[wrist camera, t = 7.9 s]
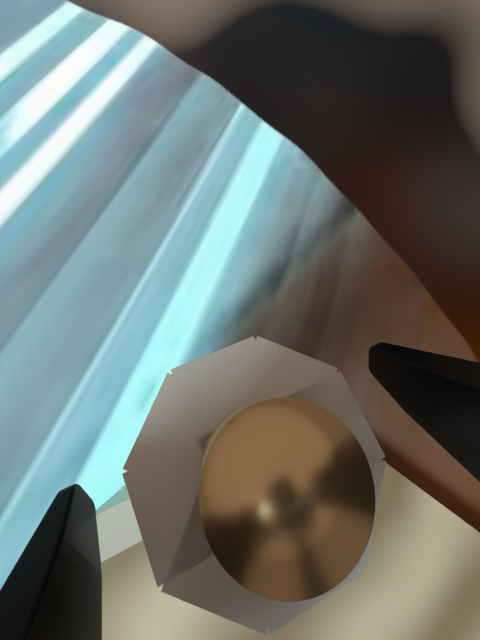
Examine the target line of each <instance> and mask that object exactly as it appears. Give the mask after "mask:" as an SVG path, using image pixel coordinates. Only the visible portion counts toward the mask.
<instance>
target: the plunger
mask: <svg viewBox="0 0 480 640" xmlns="http://www.w3.org/2000/svg"><path fill="white" fill-rule="evenodd" d="M199 506H200V515H201V521H202V525H203V529H204V532H205V536H206V538H207V541H208V543H209V545H210V548H211V550H212V552H213V553H214V555H215V557H216V558H217V560H218V562H219V563H220V564H221V566H222V567H223V568H224V569H225V571H226V572H227V573H228V574H229V575H230V576H231V577H232V578H233V579H234V580H235V581H236V582H237V583H239V584H240V585H241V586H243V587H244V588H246V589H247V590H249V591H251V592H253V593H255V594H257V595H259V596H261V597H264V598H267V599H270V600H275V601H282V602H298V601H304V600H309V599H312V598H315V597H318V596H320V595H323V594H324V593H326V592H328V591H330V590H332V589H333V588H334V587H336V586H337V585H338V584H340V583H341V582H342V581H343V580H344V579H345V578H346V577H347V576H348V575H349V574H350V573H351V572H352V571H353V569H354V568H355V566H356V565H357V564H358V562H359V561H360V559H361V557H362V555H363V553H364V551H365V550H366V547H367V544H368V542H369V539H370V536H371V532H372V528H373V524H374V517H375V488H374V481H373V477H372V472H371V469H370V466H369V463H368V460H367V458H366V455H365V453H364V451H363V449H362V447H361V445H360V444H359V442H358V440H357V439H356V437H355V436H354V435H353V433H352V432H351V431H350V429H349V428H348V427H347V426H346V425H345V424H344V423H343V422H342V421H341V420H340V419H339V418H337V417H336V416H335V415H334V414H333V413H331V412H329V411H328V410H326V409H325V408H323V407H321V406H319V405H317V404H315V403H312V402H309V401H306V400H302V399H296V398H273V399H269V400H264V401H260V402H256V403H253V404H249V405H245V406H243V407H240V408H238V409H236V410H234V411H232V412H231V413H229V414H228V415H227V416H225V417H224V418H223V419H222V420H221V421H220V422H219V423H218V425H217V426H216V427H215V428H214V430H213V432H212V433H211V435H210V437H209V439H208V441H207V443H206V446H205V449H204V452H203V457H202V463H201V476H200V489H199Z"/></svg>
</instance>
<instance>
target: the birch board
mask: <svg viewBox="0 0 480 640" xmlns="http://www.w3.org/2000/svg"><path fill="white" fill-rule="evenodd" d="M360 567H361V566H360ZM361 569H362V571H363V573H362V574H361V575H359V576H358V577H356V578H355V579H353V580H352V581H350V582H349V583H347V584H346V585H344V586H343V587H341V588H340V589H338V590H337V591H335V592H334V593H332V594H331V595H329V596H328V597H326V598H325V599H323V600H322V601H320V602H319V603H317V604H316V605H314V606H313V607H311V608H310V609H308V610H307V611H305V612H304V613H302V614H301V615H299V616H298V617H296V618H295V619H293V620H292V621H290V622H289V623H287V624H286V625H284V626H283V627H281V628H280V629H278V630H277V631H275V632H274V633H272V634H271V633H270V631H269V628H268V629H267V632H266V635H264V634H262V633H260V632H257V631H255V630H252V629H250V628H248V627H245V626H243V625H240V624H238V623H235V622H233V621H231V620H228V619H226V618H223V617H221V616H219V615H216V614H214V613H211V612H209V611H207V610H204V609H202V608H199V607H197V606H194V605H192V604H190V603H187V602H185V601H182V600H180V599H178V598H175V597H173V596H170V595H168V594H166V593H163V592H161V590H162V586H163V584H162V585H161V586H159V587H157V585H156V581H155V578H154V575H153V572H152V568H151V565H150V562H149V559H148V555H147V552H146V549H145V546H144V542H143V540H142V541H140V542H139V543H137V544H135V545H133V546H131V547H129V548H127V549H125V550H124V551H122V552H120V553H118V554H116V555H114V556H112V557H110V558H108V559H107V560H105V561H103V562H101V570H102V640H480V533H479V532H478V531H477V530H475V529H474V528H473V527H471V526H470V525H469V524H467V523H466V522H465V521H463V520H462V519H461V518H459V517H458V516H457V515H455V514H454V513H453V512H451V511H450V510H449V509H447V508H446V507H445V506H443V505H442V504H440V503H439V502H438V501H436V500H435V499H434V498H432V497H431V496H430V495H428V494H427V493H426V492H424V491H423V490H422V489H420V488H419V487H418V486H416V485H415V484H414V483H412V482H411V481H410V480H408V479H407V478H406V477H404V476H403V475H401V474H400V473H399V472H397V471H396V470H395V469H393V468H392V467H391V466H389V465H388V464H387V463H386V466H385V471H384V477H383V482H382V487H381V492H380V498H379V503H378V508H377V513H376V519H375V524H374V529H373V534H372V540H371V545H370V550H369V555H368V561H367V566H366V568H364V567H361Z"/></svg>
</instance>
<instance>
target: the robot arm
mask: <svg viewBox="0 0 480 640" xmlns="http://www.w3.org/2000/svg"><path fill="white" fill-rule="evenodd" d="M369 370H370V372H371V373H372V375H373V376H374V377H375V378H376V379H377V380H378V382H379V383H380V384H381V385H382V386H383V387H384V388H385V390H386V391H387V392H388V393H389V394H390V395H391V396H392V398H393V399H394V400H395V401H396V402H397V403H398V404H399V406H400V407H401V408H402V409H403V410H404V411H405V412H406V413H407V414H408V415H409V416H410V417H411V418H412V419H413V420H414V421H416V422H417V423H418V424H419V425H420V426H421V427H422V428H423V429H424V430H425V431H426V432H427V433H428V434H429V435H430V436H431V437H432V438H434V439H435V440H436V441H437V442H438V443H439V444H440V445H441V446H442V447H443V448H444V449H445V450H446V451H447V452H448V453H449V454H451V455H452V456H453V457H454V458H455V459H456V460H457V461H458V462H459V463H460V464H461V465H462V466H463V467H464V468H465V469H466V470H467V471H469V472H470V473H471V474H472V475H473V476H474V477H475V478H476V479H477V480H478V481H479V482H480V363H478V362H473V361H469V360H464V359H459V358H454V357H450V356H445V355H440V354H435V353H431V352H426V351H421V350H416V349H412V348H407V347H402V346H397V345H393V344H388V343H383V342H381V343H378V344H376V345H373V346H371V347H370V348H369ZM0 640H102V570H101V558H100V549H99V539H98V530H97V520H96V511H95V505H94V503H93V501H92V499H91V498H90V497H89V496H88V494H87V493H86V492H85V491H84V490H83V489H82V487H81V486H80V485H78V484H73V485H71V486H69V487H67V488H65V489H63V490H61V491H60V492H59V493H58V494H57V495H56V497H55V499H54V500H53V502H52V504H51V505H50V507H49V509H48V510H47V512H46V514H45V516H44V517H43V519H42V521H41V522H40V524H39V526H38V527H37V529H36V531H35V532H34V534H33V536H32V538H31V539H30V541H29V543H28V544H27V546H26V548H25V549H24V551H23V553H22V554H21V556H20V558H19V560H18V561H17V563H16V565H15V566H14V568H13V570H12V571H11V573H10V575H9V576H8V578H7V580H6V582H5V583H4V585H3V587H2V588H1V590H0Z"/></svg>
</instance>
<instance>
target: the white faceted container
mask: <svg viewBox="0 0 480 640" xmlns="http://www.w3.org/2000/svg"><path fill="white" fill-rule="evenodd" d="M171 371H172V374H173V375H172V374H169V373H167V375H166V377H165V380H164V382H163V384H162V386H161V388H160V390H159V392H158V395H157V397H156V399H155V401H154V403H153V405H152V407H151V410H150V412H149V414H148V416H147V418H146V420H145V422H144V425H143V427H142V429H141V431H140V433H139V435H138V438H137V440H136V442H135V444H134V446H133V448H132V450H131V453H130V455H129V457H128V459H127V461H126V463H125V465H124V468H123V469H125V470H127V471H126V472H125V473H123V477H124V481H125V484H126V485H125V486H124V487H122V488H121V489H120V490H119V491H118V492H117V493H115V494H114V495H113V496H112V497H111V498H110V499H109V500H107V501H106V502H105V503H104V504H103V505H102V506H100V507H99V508H98V509H97V510H96V520H97V530H98V539H99V549H100V558H101V562H103V561H105V560H107V559H108V558H110V557H112V556H114V555H116V554H118V553H120V552H122V551H124V550H125V549H127V548H129V547H131V546H133V545H135V544H137V543H139V542H140V541H142V540H143V542H144V546H145V549H146V552H147V555H148V559H149V562H150V565H151V568H152V572H153V575H154V578H155V581H156V585H157V587H159V586H161V585H162V584H163V586H162V590H161V592H163V593H166V594H168V595H170V596H173V597H175V598H178V599H180V600H182V601H185V602H187V603H190V604H192V605H194V606H197V607H199V608H202V609H204V610H207V611H209V612H211V613H214V614H216V615H219V616H221V617H223V618H226V619H228V620H231V621H233V622H235V623H238V624H240V625H243V626H245V627H248V628H250V629H252V630H255V631H257V632H260V633H262V634H264V635H266V632H267V629H268V628H269V631H270V633H271V634H272V633H274V632H275V631H277V630H278V629H280V628H281V627H283V626H284V625H286V624H287V623H289V622H290V621H292V620H293V619H295V618H296V617H298V616H299V615H301V614H302V613H304V612H305V611H307V610H308V609H310V608H311V607H313V606H314V605H316V604H317V603H319V602H320V601H322V600H323V599H325V598H326V597H328V596H329V595H331V594H332V593H334V592H335V591H337V590H338V589H340V588H341V587H343V586H344V585H346V584H347V583H349V582H350V581H352V580H353V579H355V578H356V577H358V576H359V575H361V574H362V573H363V571H362V569H361V567H364V568H366V566H367V561H368V555H369V550H370V545H371V540H372V534H373V529H374V524H375V519H376V513H377V508H378V503H379V498H380V492H381V487H382V482H383V477H384V471H385V466H386V461H384V460H382V458H384V457H385V455H384V453H383V451H382V449H381V447H380V445H379V443H378V441H377V439H376V437H375V436H374V434H373V432H372V430H371V428H370V426H369V424H368V422H367V420H366V418H365V416H364V415H363V413H362V411H361V409H360V407H359V405H358V403H357V401H356V399H355V397H354V395H353V394H352V392H351V390H350V388H349V386H348V384H347V382H346V380H345V378H344V376H343V375H342V373H341V371H339V372H337V368H336V367H334V366H331V365H329V364H326V363H324V362H321V361H319V360H316V359H314V358H311V357H309V356H306V355H304V354H301V353H299V352H296V351H294V350H291V349H289V348H286V347H284V346H281V345H279V344H276V343H274V342H271V341H269V340H266V339H264V338H261V337H259V336H257V337H256V339H255V338H254V336H252V337H250V338H247V339H245V340H242V341H240V342H237V343H235V344H232V345H230V346H228V347H225V348H223V349H220V350H218V351H215V352H213V353H211V354H208V355H206V356H203V357H201V358H198V359H196V360H193V361H191V362H189V363H186V364H184V365H181V366H179V367H176V368H174V369H171ZM273 398H296V399H302V400H306V401H309V402H312V403H315V404H317V405H319V406H321V407H323V408H325V409H326V410H328V411H329V412H331V413H333V414H334V415H335V416H336V417H337V418H339V419H340V420H341V421H342V422H343V423H344V424H345V425H346V426H347V427H348V428H349V429H350V431H351V432H352V433H353V435H354V436H355V437H356V439H357V440H358V442H359V444H360V445H361V447H362V449H363V451H364V453H365V455H366V458H367V460H368V463H369V466H370V469H371V472H372V477H373V481H374V488H375V517H374V524H373V528H372V532H371V536H370V539H369V542H368V544H367V547H366V550H365V551H364V553H363V555H362V557H361V559H360V561H359V562H358V564H357V565H356V566H355V568H354V569H353V571H352V572H351V573H350V574H349V575H348V576H347V577H346V578H345V579H344V580H343V581H342V582H341V583H340V584H338V585H337V586H336V587H334V588H333V589H332V590H330V591H328V592H326V593H324V594H323V595H320V596H318V597H315V598H312V599H309V600H304V601H298V602H282V601H275V600H270V599H267V598H264V597H261V596H259V595H257V594H255V593H253V592H251V591H249V590H247V589H246V588H244V587H243V586H241V585H240V584H239V583H237V582H236V581H235V580H234V579H233V578H232V577H231V576H230V575H229V574H228V573H227V572H226V571H225V569H224V568H223V567H222V566H221V564H220V563H219V562H218V560H217V558H216V557H215V555H214V553H213V552H212V550H211V548H210V545H209V543H208V541H207V538H206V536H205V532H204V529H203V525H202V521H201V515H200V506H199V489H200V476H201V463H202V457H203V452H204V449H205V446H206V443H207V441H208V439H209V437H210V435H211V433H212V432H213V430H214V428H215V427H216V426H217V425H218V423H219V422H220V421H221V420H222V419H223V418H224V417H225V416H227V415H228V414H229V413H231V412H232V411H234V410H236V409H238V408H240V407H243V406H245V405H249V404H253V403H256V402H260V401H264V400H269V399H273ZM360 566H361V567H360Z"/></svg>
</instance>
